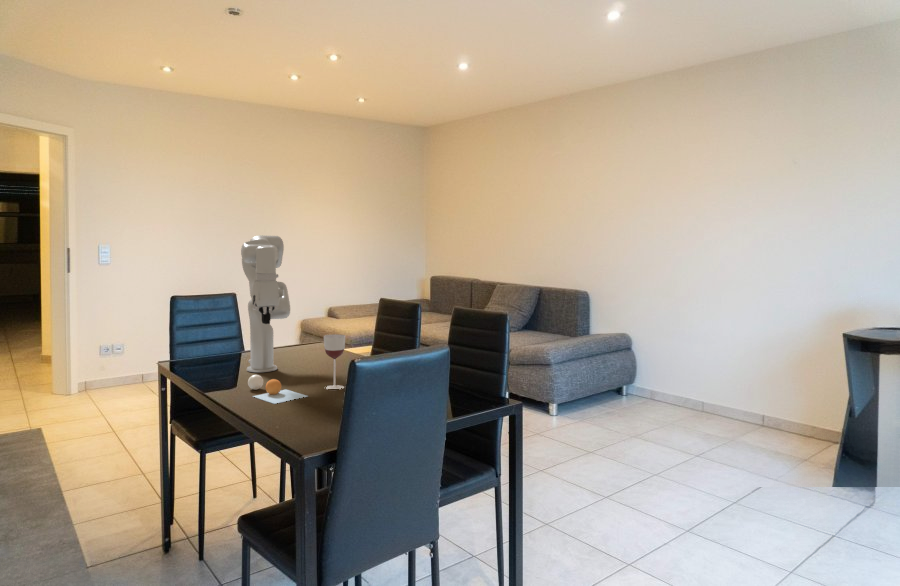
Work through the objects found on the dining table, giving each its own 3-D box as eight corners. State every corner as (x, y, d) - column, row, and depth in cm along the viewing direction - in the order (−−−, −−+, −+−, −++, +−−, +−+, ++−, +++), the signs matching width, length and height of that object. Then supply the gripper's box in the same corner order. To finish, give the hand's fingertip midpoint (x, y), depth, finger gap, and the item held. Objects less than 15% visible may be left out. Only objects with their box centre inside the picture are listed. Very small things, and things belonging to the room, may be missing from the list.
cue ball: (250, 375, 214) (253, 389, 213) (263, 372, 218) (267, 386, 217) (243, 377, 218) (247, 392, 217) (257, 374, 222) (261, 388, 221)
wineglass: (349, 386, 226) (349, 335, 224) (337, 391, 218) (338, 338, 216) (331, 384, 228) (331, 333, 227) (319, 389, 220) (319, 337, 219)
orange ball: (264, 377, 209) (272, 386, 206) (277, 375, 213) (285, 383, 210) (261, 390, 211) (268, 399, 208) (274, 387, 215) (282, 396, 212)
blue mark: (252, 396, 207) (252, 396, 207) (285, 389, 218) (285, 389, 218) (274, 404, 198) (274, 403, 198) (308, 396, 209) (308, 396, 209)
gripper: (277, 275, 236) (277, 320, 239) (243, 277, 225) (243, 324, 227) (287, 277, 231) (287, 322, 234) (253, 279, 220) (253, 327, 223)
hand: (266, 323), depth 231 cm, fingers closed
